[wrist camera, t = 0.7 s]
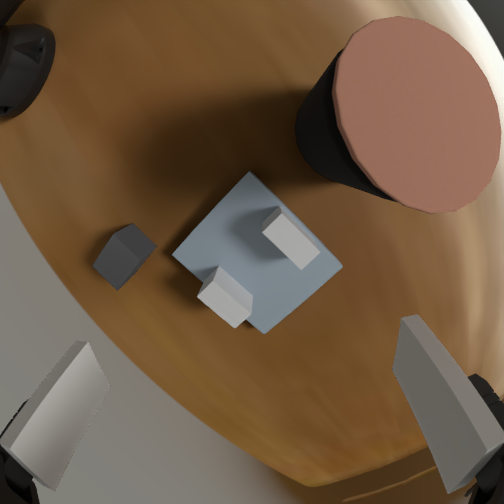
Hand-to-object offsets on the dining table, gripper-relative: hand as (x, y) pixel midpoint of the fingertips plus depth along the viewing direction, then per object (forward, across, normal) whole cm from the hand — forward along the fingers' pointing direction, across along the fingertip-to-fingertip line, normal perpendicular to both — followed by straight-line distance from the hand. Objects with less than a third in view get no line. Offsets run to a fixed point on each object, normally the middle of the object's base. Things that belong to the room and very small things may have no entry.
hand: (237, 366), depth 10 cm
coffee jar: (+22, +11, +9) cm, 26 cm away
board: (+22, 0, -3) cm, 22 cm away
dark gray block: (+22, -15, -1) cm, 26 cm away
